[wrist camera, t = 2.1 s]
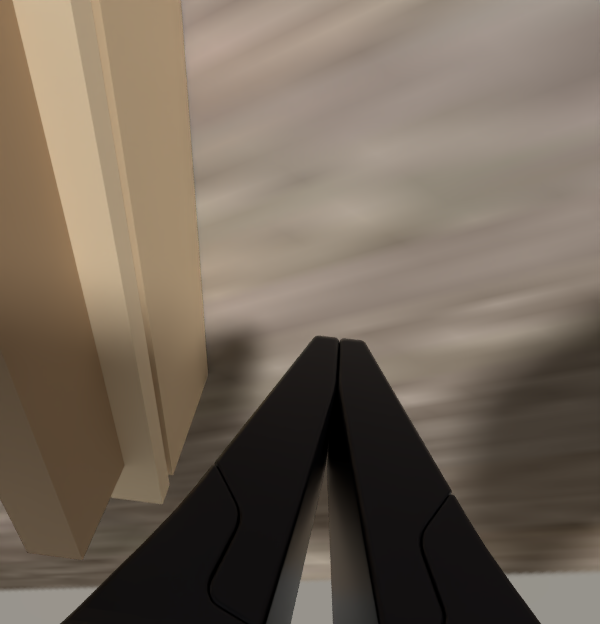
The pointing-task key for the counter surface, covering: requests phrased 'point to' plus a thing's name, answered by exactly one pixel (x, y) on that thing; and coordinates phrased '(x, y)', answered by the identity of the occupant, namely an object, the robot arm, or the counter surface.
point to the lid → (67, 292)
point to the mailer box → (158, 197)
